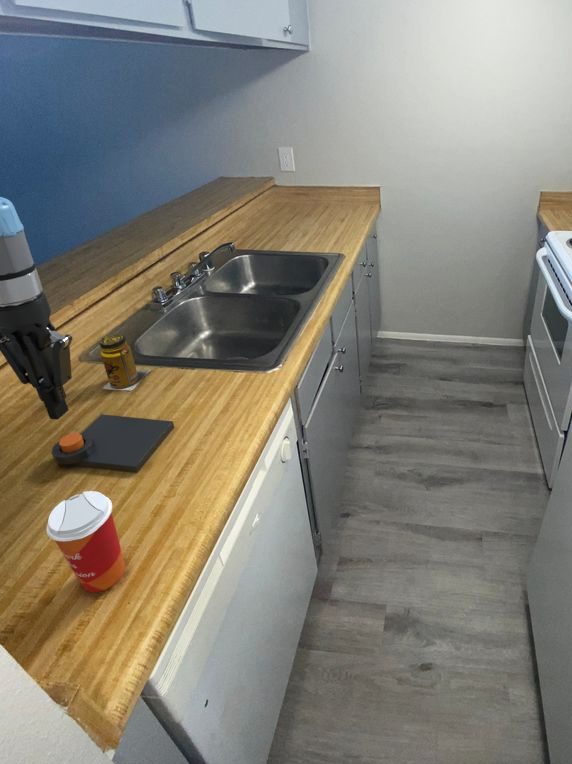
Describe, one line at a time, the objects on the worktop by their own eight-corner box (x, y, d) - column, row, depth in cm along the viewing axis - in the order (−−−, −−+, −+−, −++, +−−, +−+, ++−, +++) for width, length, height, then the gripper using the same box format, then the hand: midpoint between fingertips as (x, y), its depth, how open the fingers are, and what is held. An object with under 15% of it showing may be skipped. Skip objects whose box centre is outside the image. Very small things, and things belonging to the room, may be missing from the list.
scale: (49, 469, 89) (43, 455, 87) (100, 420, 101) (95, 407, 100) (133, 478, 88) (129, 464, 86) (174, 427, 100) (171, 414, 99)
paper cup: (69, 570, 71) (40, 506, 65) (126, 542, 76) (103, 479, 69) (79, 611, 66) (47, 545, 60) (138, 579, 71) (115, 514, 64)
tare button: (57, 452, 89) (54, 445, 88) (71, 439, 92) (68, 432, 91) (75, 454, 88) (72, 446, 87) (88, 440, 91) (86, 433, 91)
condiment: (101, 389, 111) (87, 345, 105) (123, 369, 118) (111, 327, 113) (132, 391, 111) (119, 347, 105) (151, 371, 118) (140, 329, 113)
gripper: (71, 290, 78) (107, 404, 89) (-3, 284, 78) (41, 398, 89) (36, 310, 71) (79, 431, 82) (-45, 304, 72) (8, 424, 83)
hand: (59, 414), depth 86 cm, fingers closed
